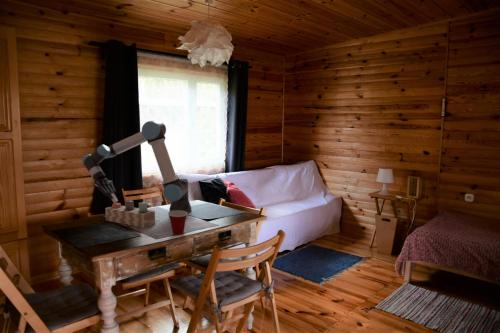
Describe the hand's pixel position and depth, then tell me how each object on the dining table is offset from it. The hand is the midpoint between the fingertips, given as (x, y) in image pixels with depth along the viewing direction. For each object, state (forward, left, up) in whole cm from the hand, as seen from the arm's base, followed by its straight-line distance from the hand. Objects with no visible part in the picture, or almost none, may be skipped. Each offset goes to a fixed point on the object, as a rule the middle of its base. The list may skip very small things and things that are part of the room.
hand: (116, 202), depth 237 cm
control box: (+5, +11, -11) cm, 17 cm away
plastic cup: (+27, +48, -12) cm, 57 cm away
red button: (0, 0, -6) cm, 6 cm away
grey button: (+5, +11, -3) cm, 12 cm away
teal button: (+10, +22, -3) cm, 24 cm away
